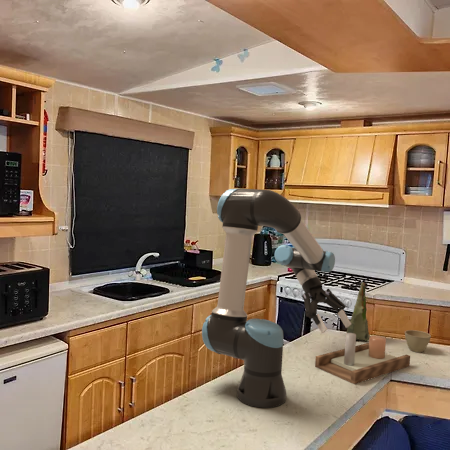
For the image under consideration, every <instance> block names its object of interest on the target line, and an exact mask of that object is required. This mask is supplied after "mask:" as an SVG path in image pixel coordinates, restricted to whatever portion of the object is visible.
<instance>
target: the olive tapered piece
mask: <svg viewBox="0 0 450 450" xmlns="http://www.w3.org/2000/svg"><path fill="white" fill-rule="evenodd" d="M366 305H367V299H366V283H365V282H363V281H362V282H361V283H360V286H359V290H358V294H357V296H356V301H355V305H354V309H353V312H352V314H351V318H350V319H349V321H350V322H351V325H350V326H349V327H347V328H346V329H347V330H346V333H354V334H356V340H360V341H365V342H369V337H370V333H369V323H368V322H369V321H368V319H367V306H366ZM346 333H345V334H346Z"/></svg>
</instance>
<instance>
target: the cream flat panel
mask: <svg viewBox="0 0 450 450" xmlns="http://www.w3.org/2000/svg"><path fill="white" fill-rule="evenodd" d="M344 340H345V343H344V349H345V356H341V357H337V358H333V359H331V363H334V364H336V365H339V366H341V367H343V368H346V369H348V370H351V371H354V370H357V369H360V368H364V367H367V366H370V365H374V364H377V363H380V362H383V361H387V360H390V359H393V358H397V357H398V356H395V355H392V354H390V353H386V352H385V358H383V359H376V358H372V357H370V356H369V349H367V350H363V351H359V352H356V353H355V346H357V345H356V343H357V341H356V340H357V339H356V334H354V333H345V339H344Z"/></svg>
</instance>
